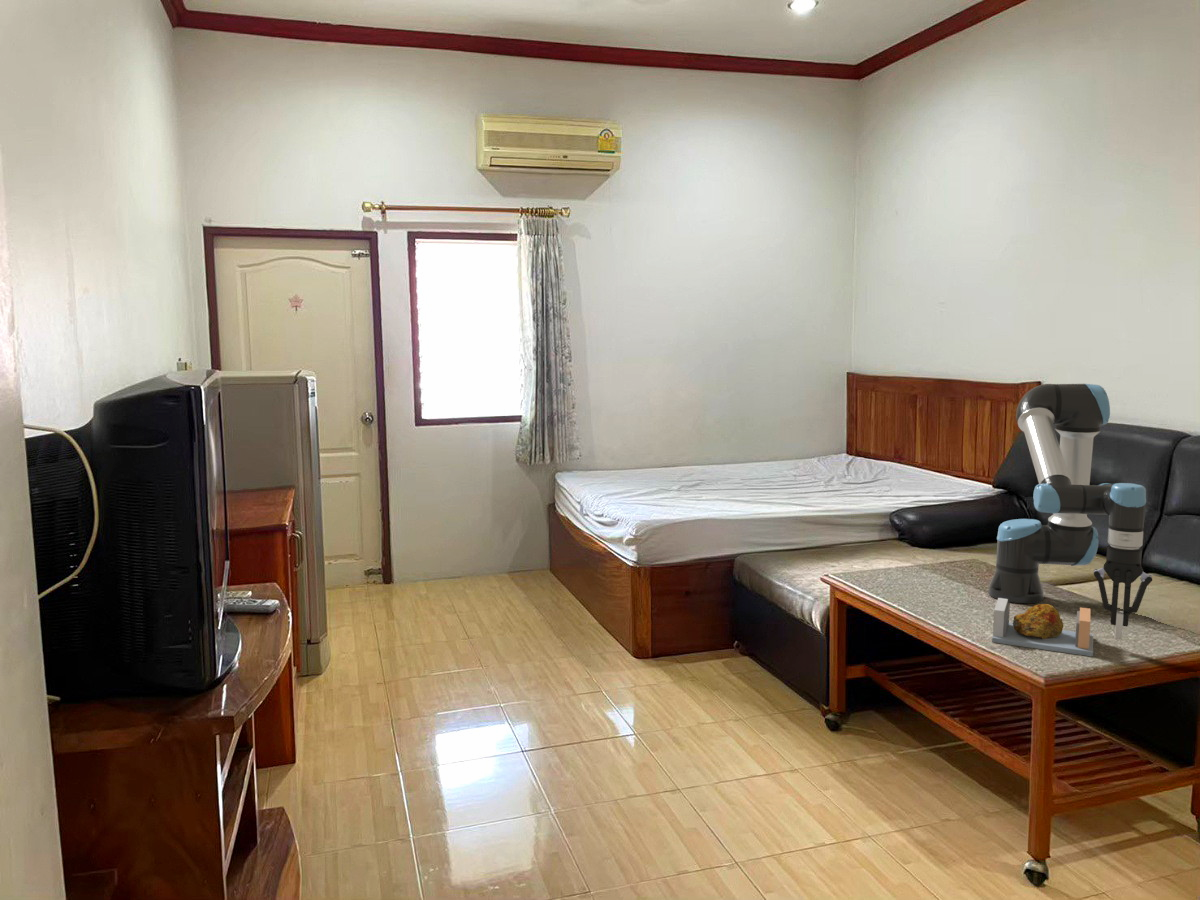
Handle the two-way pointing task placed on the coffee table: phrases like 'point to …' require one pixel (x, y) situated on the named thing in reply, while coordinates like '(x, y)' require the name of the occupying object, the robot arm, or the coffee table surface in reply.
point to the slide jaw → (1083, 628)
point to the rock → (1039, 622)
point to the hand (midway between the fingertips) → (1118, 637)
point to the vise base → (1009, 635)
